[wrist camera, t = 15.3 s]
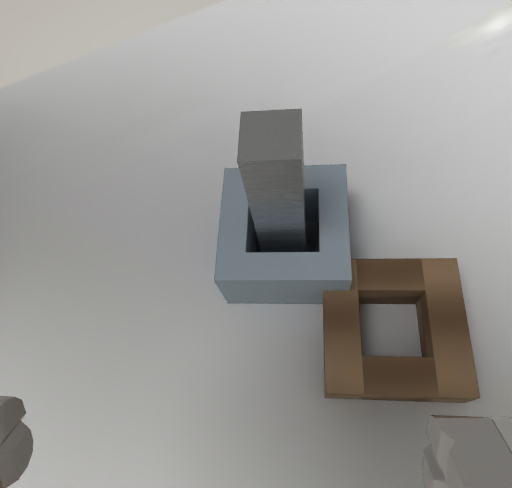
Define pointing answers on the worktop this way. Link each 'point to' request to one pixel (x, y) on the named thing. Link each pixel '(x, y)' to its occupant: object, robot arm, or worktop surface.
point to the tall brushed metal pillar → (274, 177)
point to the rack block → (285, 263)
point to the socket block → (430, 329)
